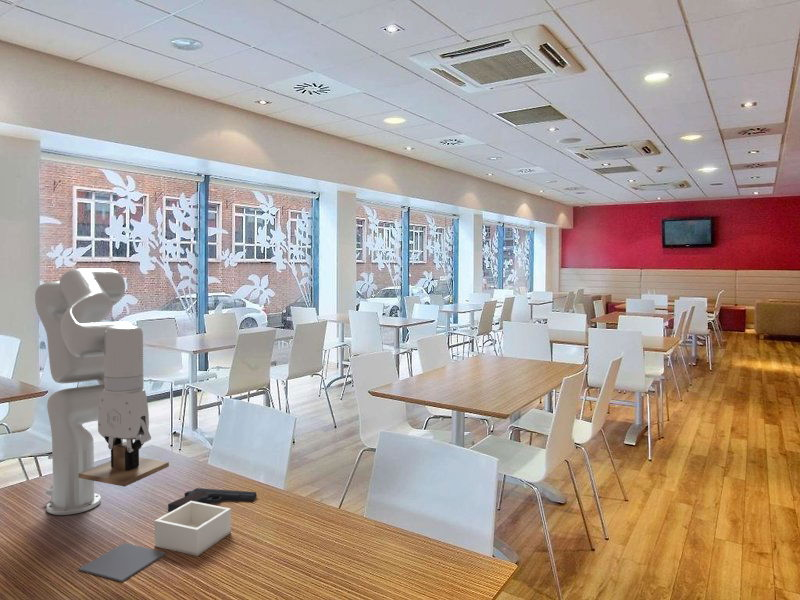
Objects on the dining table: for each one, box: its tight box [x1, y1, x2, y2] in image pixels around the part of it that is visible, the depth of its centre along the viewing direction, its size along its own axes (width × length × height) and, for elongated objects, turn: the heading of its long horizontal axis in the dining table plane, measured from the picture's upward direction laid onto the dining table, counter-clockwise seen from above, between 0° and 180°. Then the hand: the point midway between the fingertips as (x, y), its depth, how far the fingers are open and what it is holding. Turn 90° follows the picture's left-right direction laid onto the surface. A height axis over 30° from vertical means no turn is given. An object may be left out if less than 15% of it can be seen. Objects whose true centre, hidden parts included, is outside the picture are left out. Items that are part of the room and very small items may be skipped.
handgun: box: [167, 487, 258, 512], centre depth 153 cm, size 2×20×12 cm
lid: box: [79, 441, 170, 487], centre depth 122 cm, size 12×12×6 cm
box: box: [154, 501, 232, 557], centre depth 133 cm, size 12×12×6 cm
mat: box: [78, 542, 167, 583], centre depth 123 cm, size 12×12×1 cm
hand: (125, 466), depth 122 cm, fingers closed on lid, 3 cm apart
